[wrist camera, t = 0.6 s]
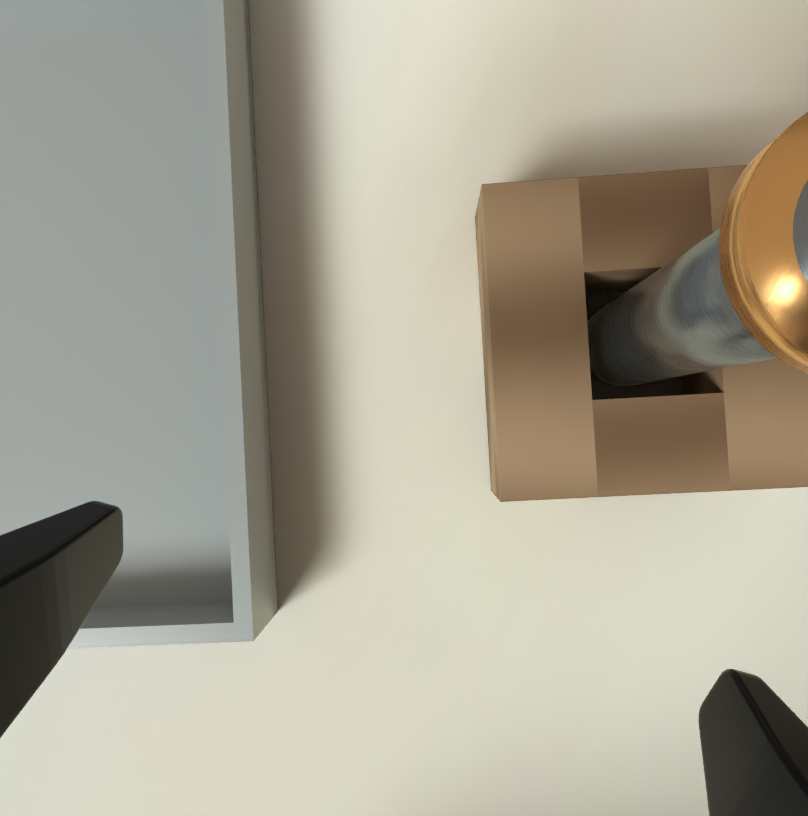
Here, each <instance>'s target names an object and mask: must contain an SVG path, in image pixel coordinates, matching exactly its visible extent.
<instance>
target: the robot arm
mask: <svg viewBox="0 0 808 816" xmlns="http://www.w3.org/2000/svg"><path fill="white" fill-rule="evenodd" d="M123 548H124V544H123V515H122V511H121V509H120V508H119V507H117V506H115V505H111V504H107V503H103V502H100V501H90V502H87V503H84V504H81V505H79V506H76V507H74V508H71V509H68V510H66V511H63V512H60V513H58V514H55V515H52V516H50V517H47V518H44V519H42V520H39V521H36V522H34V523H31V524H29V525H26V526H23V527H21V528H18V529H15V530H13V531H10V532H7V533H5V534H2V535H0V738H1V736H2V735H3V734H4V732H5V731H6V730H7V728H8V727H9V726H10V724H11V723H12V722H13V721H14V719H15V718H16V717H17V715H18V714H19V713H20V711H21V710H22V709H23V707H24V706H25V705H26V703H27V702H28V701H29V700H30V698H31V697H32V696H33V694H34V693H35V692H36V690H37V689H38V688H39V686H40V685H41V684H42V682H43V681H44V680H45V679H46V677H47V676H48V675H49V673H50V672H51V671H52V669H53V668H54V667H55V665H56V664H57V662H58V661H59V660H60V658H61V657H62V656H63V654H64V653H65V651H66V649H67V648H68V646H69V645H70V643H71V642H72V640H73V639H74V637H75V635H76V634H77V632H78V630H79V629H80V627H81V626H82V624H83V622H84V621H85V619H86V617H87V616H88V614H89V612H90V611H91V609H92V608H93V606H94V604H95V603H96V601H97V599H98V598H99V596H100V594H101V593H102V591H103V590H104V588H105V586H106V585H107V583H108V581H109V580H110V578H111V577H112V575H113V573H114V572H115V570H116V568H117V567H118V565H119V563H120V561H121V558H122V555H123ZM699 730H700V738H701V747H702V756H703V764H704V773H705V782H706V790H707V799H708V807H709V816H808V727H807V726H806V725H805V724H804V723H803V722H802V721H801V720H800V719H799V718H798V717H797V715H796V714H795V713H794V712H793V711H792V710H791V709H790V708H789V707H788V706H787V705H786V704H785V703H784V702H783V701H782V700H781V699H780V698H779V697H778V696H777V695H776V694H775V693H774V692H773V691H772V689H771V688H770V687H769V686H768V685H767V684H766V683H765V682H764V681H763V680H762V679H761V678H759V677H758V676H755V675H753V674H749V673H745V672H742V671H738V670H734V669H727V670H725V671H724V672H722V674H721V675H720V676H719V678H718V679H717V681H716V683H715V684H714V686H713V687H712V689H711V690H710V692H709V694H708V695H707V697H706V698H705V700H704V701H703V703H702V705H701V708H700V711H699Z"/></svg>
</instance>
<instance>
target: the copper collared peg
mask: <svg viewBox="0 0 808 816" xmlns="http://www.w3.org/2000/svg"><path fill="white" fill-rule="evenodd" d="M587 327H588V343H589V359H590V372H591V373H592V374H593V375H594V376H596V377H597V378H598V379H600V380H601V381H603V382H605V383H608V384H611V385H614V386H631V385H637V384H642V383H647V382H652V381H658V380H663V379H668V378H674V377H679V376H684V375H689V374H695V373H700V372H705V371H711V370H716V369H721V368H726V367H732V366H737V365H742V364H748V363H753V362H758V361H764V360H769V359H774V358H779V359H780V360H781V361H783V362H785V363H787V364H788V365H790V366H792V367H794V368H795V369H797V370H800V371H802V372H804V373H807V374H808V112H807V113H806V114H805V115H803V116H802V117H801V118H799V119H798V120H797V121H796V122H794V123H793V124H792V125H791V126H789V127H788V128H787V129H786V130H785V131H783V132H782V133H781V134H780V135H779V136H777V137H776V138H775V139H774V140H773V141H771V142H770V143H769V144H768V145H767V146H765V147H764V148H763V149H762V150H761V151H760V152H759V153H758V154H757V155H756V156H755V157H754V158H753V159H752V161H751V162H750V163H749V164H748V166H747V167H746V168H745V169H744V171H743V172H742V173H741V175H740V177H739V179H738V180H737V182H736V184H735V185H734V187H733V189H732V191H731V194H730V196H729V198H728V201H727V203H726V206H725V210H724V213H723V217H722V221H721V227H720V229H718V230H717V231H715V232H714V233H712V234H711V235H709V236H708V237H706V238H705V239H703V240H702V241H701V242H699V243H698V244H696V245H695V246H693V247H692V248H690V249H689V250H687V251H686V252H684V253H683V254H681V255H680V256H678V257H677V258H675V259H674V260H672V261H671V262H670V263H668V264H667V265H665V266H664V267H662V268H661V269H659V270H658V271H656V272H655V273H653V274H652V275H650V276H649V277H647V278H646V279H644V280H643V281H641V282H640V283H639V284H637V285H636V286H634V287H633V288H631V289H630V290H628V291H627V292H625V293H624V294H622V295H621V296H619V297H618V298H616V299H615V300H613V301H612V302H610V303H609V304H608V305H606V306H605V307H603V308H602V309H600V310H599V311H597V312H596V313H595V314H594V315H593V316H592V317H591V318H590V319H589V320H588V322H587Z"/></svg>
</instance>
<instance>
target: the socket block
mask: <svg viewBox="0 0 808 816" xmlns="http://www.w3.org/2000/svg"><path fill="white" fill-rule="evenodd" d="M747 166H748V165H742V166H728V167H714V168H700V169H686V170H672V171H659V172H645V173H631V174H617V175H603V176H589V177H576V178H562V179H548V180H534V181H520V182H506V183H493V184H482V187H481V192H480V196H479V201H478V206H477V211H476V216H475V221H476V239H477V256H478V273H479V290H480V307H481V324H482V341H483V359H484V376H485V393H486V410H487V427H488V444H489V461H490V479H491V491H492V492H493V493H494V495H495V496H496V497H497V498H498V499H499V500H500V501H501V502H504V501H525V500H546V499H566V498H587V497H608V496H628V495H649V494H670V493H690V492H711V491H732V490H752V489H773V488H794V487H808V374H807V373H804V372H802V371H800V370H797V369H795V368H794V367H792V366H790V365H788V364H787V363H785V362H783V361H781V360H780V359H779V358H774V359H769V360H764V361H758V362H753V363H748V364H742V365H737V366H732V367H726V368H721V369H716V370H711V371H705V372H700V373H695V374H689V375H684V376H682V389H683V395H674V396H656V397H638V398H620V399H602V400H592V390H591V375H590V359H589V343H588V327H587V311H586V296H585V292H587V291H602V290H618V289H631V288H633V287H634V286H636V285H637V284H639V283H640V282H641V281H643V280H644V279H646V278H647V277H649V276H650V275H652V274H653V273H655V272H656V271H658V270H659V269H661V268H662V267H664V266H665V265H667V264H668V263H670V262H671V261H672V260H674V259H675V258H677V257H678V256H680V255H681V254H683V253H684V252H686V251H687V250H689V249H690V248H692V247H693V246H695V245H696V244H698V243H699V242H701V241H702V240H703V239H705V238H706V237H708V236H709V235H711V234H712V233H714V232H715V231H717V230H718V229H720V227H721V221H722V217H723V213H724V210H725V206H726V203H727V201H728V198H729V196H730V194H731V191H732V189H733V187H734V185H735V184H736V182H737V180H738V179H739V177H740V175H741V173H742V172H743V171H744V169H745V168H746V167H747Z"/></svg>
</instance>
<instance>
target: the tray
mask: <svg viewBox="0 0 808 816" xmlns="http://www.w3.org/2000/svg"><path fill="white" fill-rule="evenodd" d="M90 501H100V502H103V503H107V504H111V505H115V506H117V507H119V508H120V509H121V511H122V515H123V544H124V548H123V555H122V558H121V561H120V563H119V565H118V567H117V568H116V570H115V572H114V573H113V575H112V577H111V578H110V580H109V581H108V583H107V585H106V586H105V588H104V590H103V591H102V593H101V594H100V596H99V598H98V599H97V601H96V603H95V604H94V606H93V608H92V609H91V611H90V612H89V614H88V616H87V617H86V619H85V621H84V622H83V624H82V626H81V627H80V629H79V630H78V632H77V634H76V635H75V637H74V639H73V640H72V642H71V643H70V645H69V646H68V648H88V647H114V646H140V645H166V644H192V643H218V642H244V641H254V640H255V638H256V637H257V636H258V635H259V634H260V632H261V631H262V630H263V629H264V627H265V626H266V625H267V624H268V623H269V621H270V620H271V619H272V618H273V617H274V615H275V614H276V613H277V612H278V607H277V586H276V565H275V545H274V524H273V503H272V482H271V462H270V441H269V420H268V400H267V379H266V358H265V337H264V317H263V296H262V275H261V254H260V234H259V213H258V192H257V172H256V151H255V130H254V109H253V89H252V68H251V47H250V26H249V6H248V0H0V535H2V534H5V533H7V532H10V531H13V530H15V529H18V528H21V527H23V526H26V525H29V524H31V523H34V522H36V521H39V520H42V519H44V518H47V517H50V516H52V515H55V514H58V513H60V512H63V511H66V510H68V509H71V508H74V507H76V506H79V505H81V504H84V503H87V502H90Z"/></svg>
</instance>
